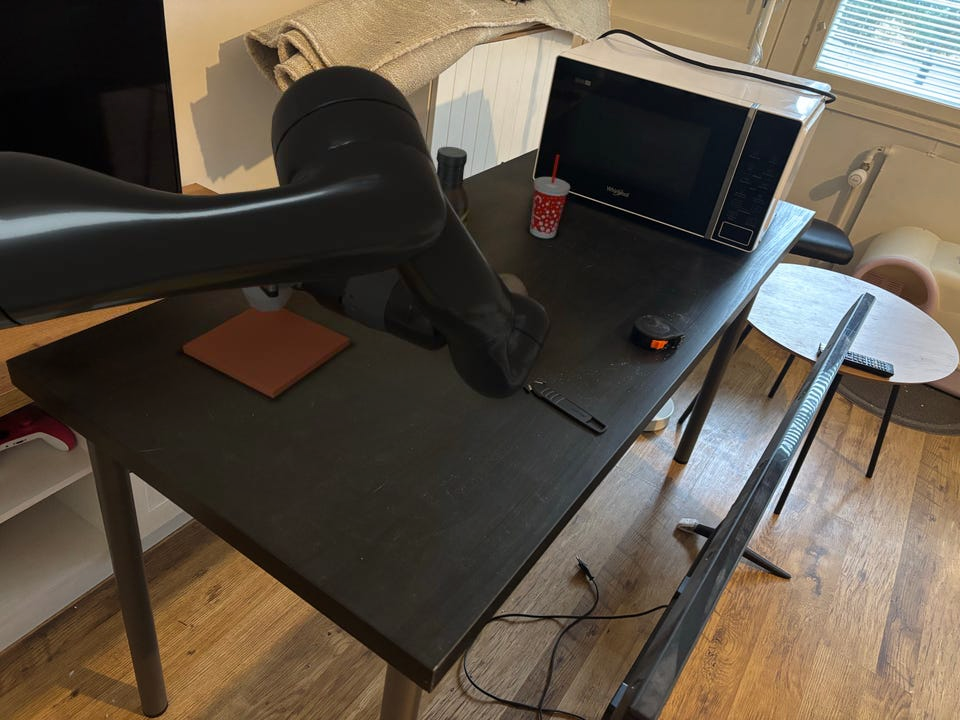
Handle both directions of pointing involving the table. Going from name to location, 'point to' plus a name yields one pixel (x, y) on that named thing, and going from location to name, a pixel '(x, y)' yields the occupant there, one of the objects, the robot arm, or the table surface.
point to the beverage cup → (548, 204)
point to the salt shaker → (266, 299)
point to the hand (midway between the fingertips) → (246, 238)
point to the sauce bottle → (453, 179)
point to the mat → (267, 348)
